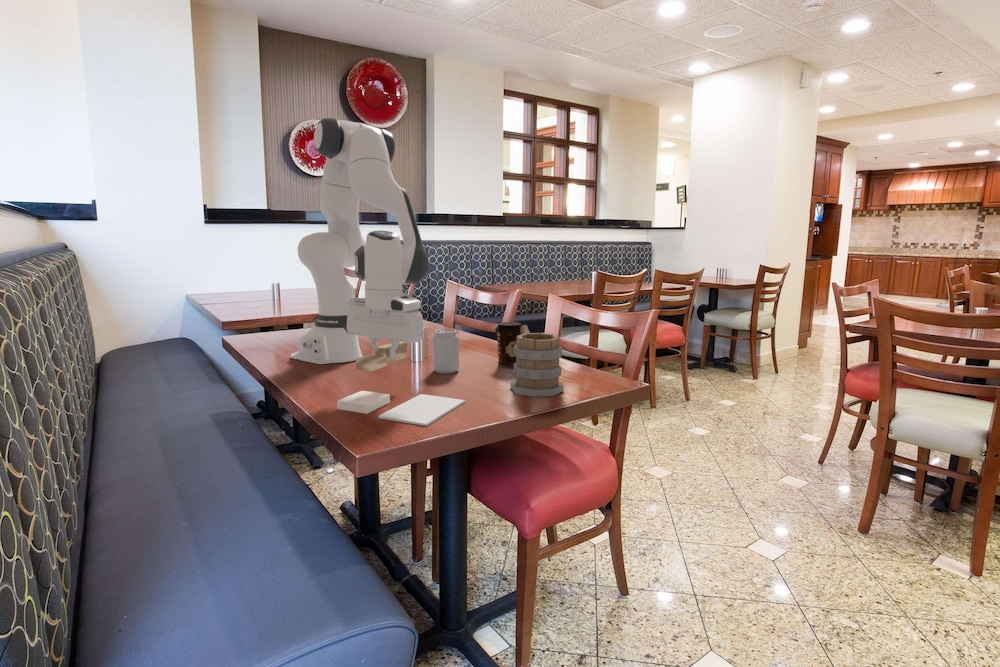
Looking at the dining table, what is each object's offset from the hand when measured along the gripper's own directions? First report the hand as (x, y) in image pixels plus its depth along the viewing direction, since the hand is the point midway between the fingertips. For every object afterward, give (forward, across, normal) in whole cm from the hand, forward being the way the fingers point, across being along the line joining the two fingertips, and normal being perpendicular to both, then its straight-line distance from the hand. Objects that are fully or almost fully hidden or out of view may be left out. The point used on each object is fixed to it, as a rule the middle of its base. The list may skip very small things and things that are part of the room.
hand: (384, 356), depth 134 cm
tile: (+9, +1, -10) cm, 13 cm away
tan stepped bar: (+2, 0, 0) cm, 2 cm away
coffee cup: (+9, +16, +41) cm, 45 cm away
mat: (+9, +15, -6) cm, 19 cm away
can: (+10, +3, +26) cm, 28 cm away
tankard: (+9, +31, +23) cm, 39 cm away
